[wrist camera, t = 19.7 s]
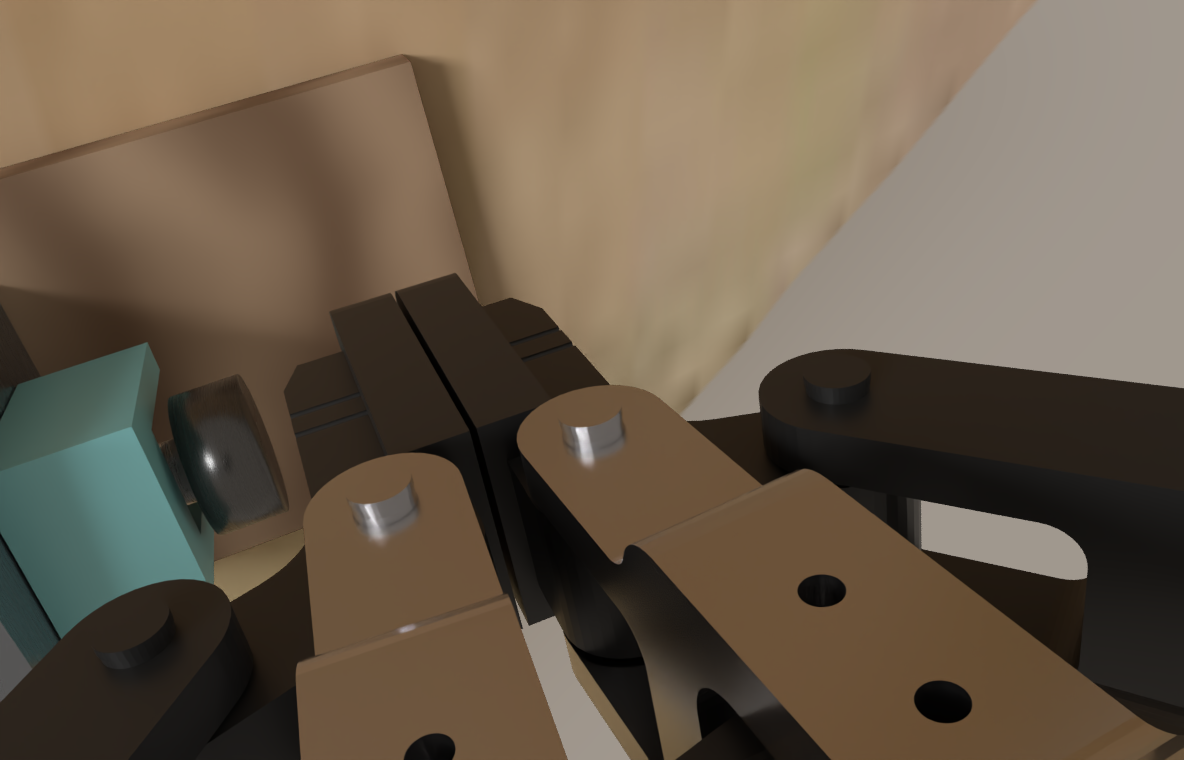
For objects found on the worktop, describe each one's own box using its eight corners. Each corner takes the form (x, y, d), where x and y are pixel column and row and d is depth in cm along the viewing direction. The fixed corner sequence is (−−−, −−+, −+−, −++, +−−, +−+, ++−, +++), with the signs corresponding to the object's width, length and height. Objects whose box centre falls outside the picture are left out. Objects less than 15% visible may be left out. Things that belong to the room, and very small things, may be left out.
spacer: (94, 531, 35) (69, 652, 29) (17, 384, 32) (-30, 481, 26) (214, 488, 36) (213, 597, 29) (147, 342, 33) (131, 426, 27)
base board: (-140, 669, 39) (-151, 697, 38) (-438, 292, 31) (-463, 312, 30) (510, 430, 44) (519, 447, 43) (402, 54, 36) (410, 61, 35)
